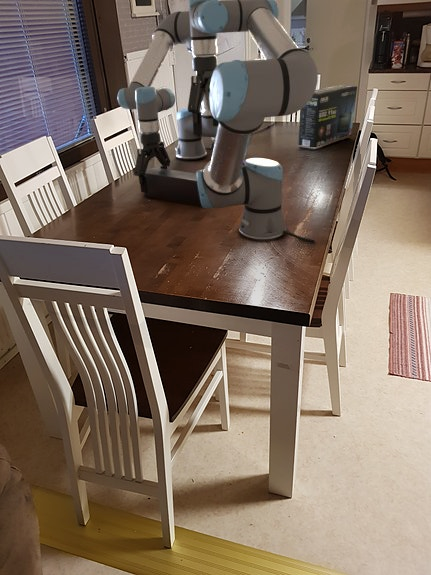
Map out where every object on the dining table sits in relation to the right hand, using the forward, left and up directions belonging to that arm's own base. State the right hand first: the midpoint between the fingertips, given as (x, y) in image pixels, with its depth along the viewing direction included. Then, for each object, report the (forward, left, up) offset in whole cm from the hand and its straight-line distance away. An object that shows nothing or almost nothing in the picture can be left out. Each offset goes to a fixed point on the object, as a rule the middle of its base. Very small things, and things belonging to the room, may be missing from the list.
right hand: (208, 130), depth 147 cm
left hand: (+32, -11, -27) cm, 43 cm away
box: (+21, -11, -30) cm, 38 cm away
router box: (-3, -115, -30) cm, 119 cm away
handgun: (+12, -58, -30) cm, 67 cm away
